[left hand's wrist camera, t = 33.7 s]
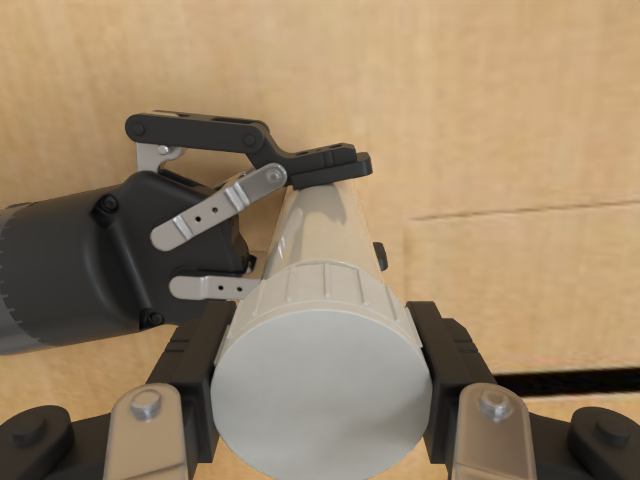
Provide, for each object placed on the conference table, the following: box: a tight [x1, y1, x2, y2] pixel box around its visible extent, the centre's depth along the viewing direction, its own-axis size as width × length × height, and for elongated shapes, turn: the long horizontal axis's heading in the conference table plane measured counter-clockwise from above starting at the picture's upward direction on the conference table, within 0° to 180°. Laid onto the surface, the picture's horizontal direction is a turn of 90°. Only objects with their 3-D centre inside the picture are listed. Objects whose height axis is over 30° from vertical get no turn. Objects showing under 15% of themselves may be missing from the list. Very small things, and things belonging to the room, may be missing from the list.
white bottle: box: [259, 179, 386, 286], centre depth 19 cm, size 4×4×18 cm
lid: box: [210, 263, 433, 480], centre depth 10 cm, size 5×5×2 cm
